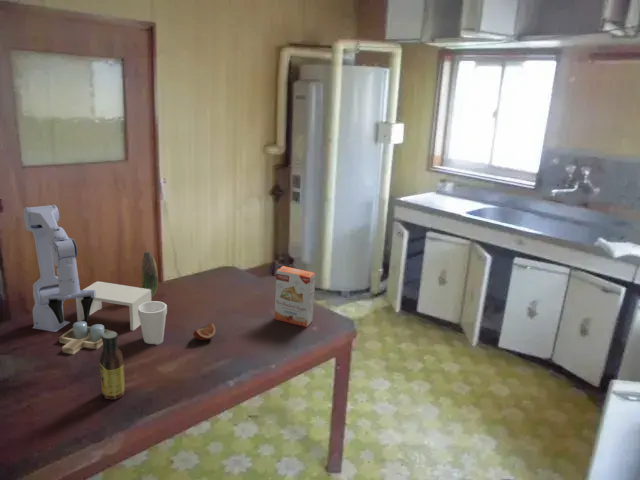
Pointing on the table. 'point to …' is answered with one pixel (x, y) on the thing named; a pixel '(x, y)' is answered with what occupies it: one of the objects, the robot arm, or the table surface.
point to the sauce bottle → (111, 367)
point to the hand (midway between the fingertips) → (74, 321)
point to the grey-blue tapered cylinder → (96, 332)
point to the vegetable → (149, 273)
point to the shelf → (116, 299)
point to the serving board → (78, 342)
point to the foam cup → (152, 321)
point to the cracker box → (294, 296)
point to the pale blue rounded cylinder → (80, 330)
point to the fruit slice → (205, 332)
